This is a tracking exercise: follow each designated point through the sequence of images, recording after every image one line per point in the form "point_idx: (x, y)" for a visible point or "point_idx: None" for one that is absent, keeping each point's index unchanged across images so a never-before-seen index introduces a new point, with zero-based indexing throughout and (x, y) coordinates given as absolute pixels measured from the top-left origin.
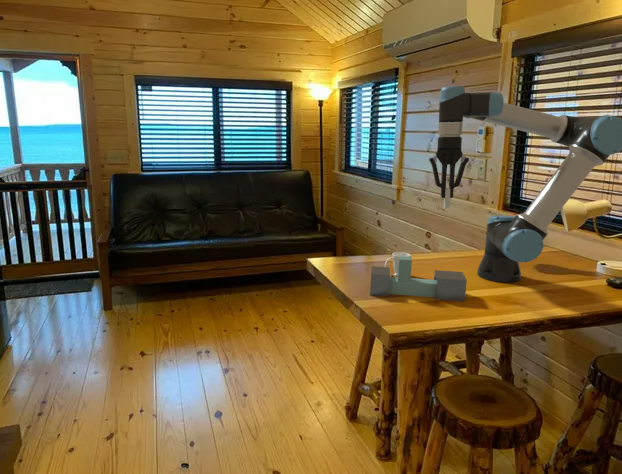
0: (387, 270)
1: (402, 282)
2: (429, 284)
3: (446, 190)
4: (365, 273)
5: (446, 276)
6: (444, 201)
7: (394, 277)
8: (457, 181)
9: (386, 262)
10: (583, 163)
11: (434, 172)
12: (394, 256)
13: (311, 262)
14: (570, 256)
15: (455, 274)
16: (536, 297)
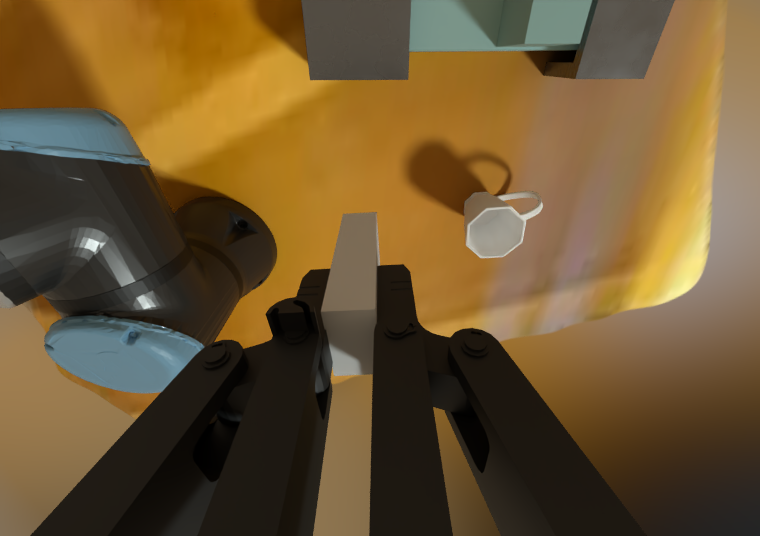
0: (600, 25)
1: None
2: None
3: (366, 297)
4: (576, 201)
5: None
6: (378, 261)
7: (550, 46)
8: (200, 398)
9: (540, 199)
10: None
11: None
12: (520, 215)
13: (704, 266)
14: (101, 389)
15: (336, 32)
16: (112, 79)
